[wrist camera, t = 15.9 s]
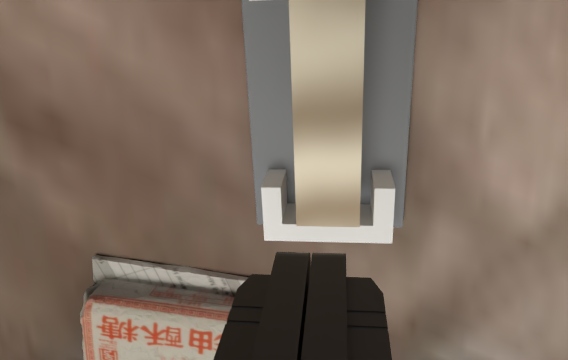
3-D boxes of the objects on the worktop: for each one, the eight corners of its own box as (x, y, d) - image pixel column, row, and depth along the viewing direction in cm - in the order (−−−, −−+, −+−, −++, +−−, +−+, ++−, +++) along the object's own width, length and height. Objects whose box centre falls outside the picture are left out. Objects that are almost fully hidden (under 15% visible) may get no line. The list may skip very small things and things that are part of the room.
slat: (296, -39, 26) (287, -44, 21) (362, -43, 26) (366, -48, 21) (302, 190, 31) (296, 226, 27) (357, 190, 31) (359, 227, 26)
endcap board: (239, -81, 26) (222, -91, 23) (420, -92, 25) (434, -104, 22) (259, 218, 34) (249, 246, 30) (400, 220, 33) (408, 250, 29)
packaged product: (76, 389, 37) (64, 285, 33) (105, 345, 41) (98, 249, 37) (303, 428, 35) (319, 324, 31) (307, 378, 40) (322, 282, 36)
